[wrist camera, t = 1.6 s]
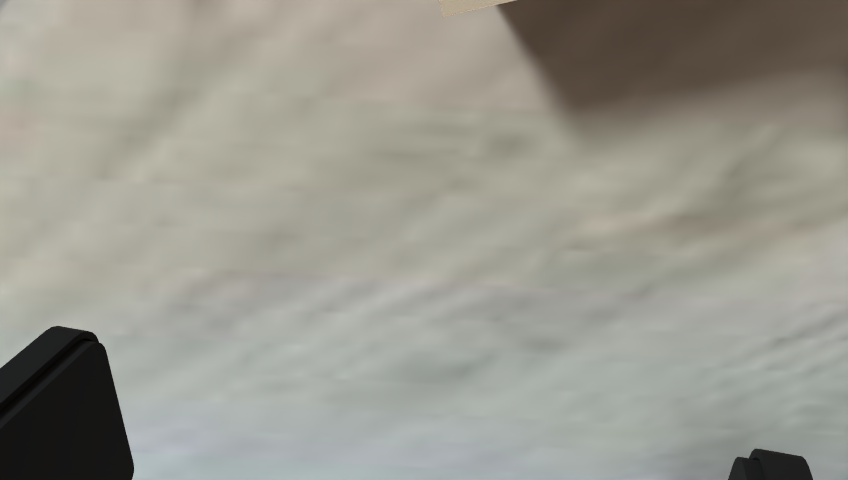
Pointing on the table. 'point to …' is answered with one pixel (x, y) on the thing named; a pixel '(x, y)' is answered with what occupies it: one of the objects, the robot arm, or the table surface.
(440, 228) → the table surface
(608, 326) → the table surface
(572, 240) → the table surface
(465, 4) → the door
